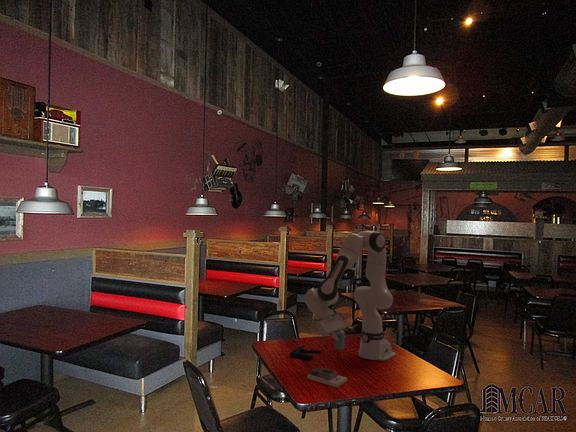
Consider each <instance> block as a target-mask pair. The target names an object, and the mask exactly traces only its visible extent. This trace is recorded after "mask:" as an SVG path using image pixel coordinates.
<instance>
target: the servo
mask: <svg viewBox="0 0 576 432" xmlns="http://www.w3.org/2000/svg"><path fill="white" fill-rule="evenodd" d="M335 334H336V335H337V336H339V338H340V340H339V341H336V340H335V339H334V349H338V350H344V349H345V348H346V347H345V345H346V338H347V337H348V336H347V335H346V332H345V331H344V330H342V331H340V332H336V333H335Z"/></svg>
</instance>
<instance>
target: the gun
mask: <svg viewBox="0 0 576 432" xmlns="http://www.w3.org/2000/svg"><path fill="white" fill-rule="evenodd" d="M322 352H323V351H322V350H319V349H305V344H304V345H303V344H302V345H301V346H298V347H296V348H295V349H294V350H293V351H291V352H290V353H289V356H290V357H291V358H297V359H300V360H304V361H307V362H311V361H312V360H313V359H314V356H313V355H311V354H316V353H317V354H320V355H322Z"/></svg>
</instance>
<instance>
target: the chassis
mask: <svg viewBox="0 0 576 432" xmlns="http://www.w3.org/2000/svg"><path fill="white" fill-rule="evenodd" d="M306 378H307V380H311V381H314V382H317V383H321V384H324V385H328V386H330V387H334V388H338V387H341V386H342V385H343V384H344V383H347V382H348V377H345V376H342V375H339V374H338V371H337V370H334V369H329V368H326V367H324V368H321V367H315V368H313V369H310V373H309V374H307V377H306Z"/></svg>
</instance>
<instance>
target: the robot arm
mask: <svg viewBox="0 0 576 432" xmlns="http://www.w3.org/2000/svg"><path fill="white" fill-rule="evenodd" d="M386 241H387V240H386V236H385V234H384V233H382V232H381V231H373V230H364V231H363V230H362V231H359V230H358V231H355V232H354V233H349V234H348V235H347V236H346V238H345V239H344V241H343V242H342V243H341V246H340V248H339V250H338V253H337V255H336V259H335V262H334V263H333V264H332V267H331V269H330V271H329V272H328V275H327V277H326V278H325V279H323V280H322V281H321V282H320V283H319V285H318V286H317V288H310V289H308V290H307V291H306V292H305V294H304V295H303V300H304V302H305V305H306V306H307V308H308V310H309V311H310V312H312V314H313V315H314V318H315V321H314V322H315V325H316V328H317V330H318V332H319V333H320V335H321V337H323V338H325V337H327V336H330V337H331V338H333V339H334V341H335V340H336V341H339V340H340V338H339V336H337V335H336V334H335V333H336V332H340V331H344V329H345V328H347V324H346V322H345V321H344V320H343V318H342V317H341V315H339V312H338V311H337V310H334V309H330V306H331V305H333V304H336V303H337V302H338V300H339V296H340V295H339V291H338V284H339V282H340V280H341V278H342V277H343V274H344V272H345V270H347V269H351V268H353V267H354V265H355V264H356V263H357V261H358V259H359V257H360V255H361V252H362V250H363V251H366V252H367V259H366V266H365V277H366V279H367V280H368V281H369V284H370V286H369V285H368V286H367V285H364V286H363V285H362V286H357V288H355V290H354V293H353V298H354V301H355V302H356V303H357V305H358V307H359V310H360V314H361V319H362V321H361V323H362V325H361V326H362V327H361V328H362V329H361V339H360V344H359V349H358V356H359V357H360V358H363V359H366V360H371V361H387V360H389V359H391V358H393V357H395V356H396V355H397V353H396V352H394V351H393V349H392V344H391V342H389V341H388V339H386V338H385V337H386V336H387V335H388V332H387V331H383V317H382V315H380V314H379V312H378V310H377V309H379V310H387V309H390V308H391V306H392V305H393V304H394V303H393V302H394V297H393V294H392V293H391V292H390V290H389V289H388V288H389V287H388V285H387V280H386V271H387V269H386V268H387V249H386Z"/></svg>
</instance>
